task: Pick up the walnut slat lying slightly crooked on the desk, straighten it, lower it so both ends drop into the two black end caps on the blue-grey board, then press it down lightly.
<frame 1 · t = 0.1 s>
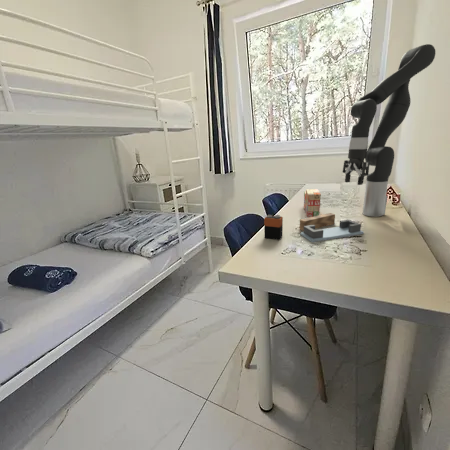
hand: (353, 183, 121), 17 cm above the table, tool pointing down, fingers open, 8 cm apart
cap board: (331, 234, 107), on the table
slat: (317, 227, 117), on the table
battery: (273, 237, 108), on the table
stack of blocks: (310, 211, 141), on the table
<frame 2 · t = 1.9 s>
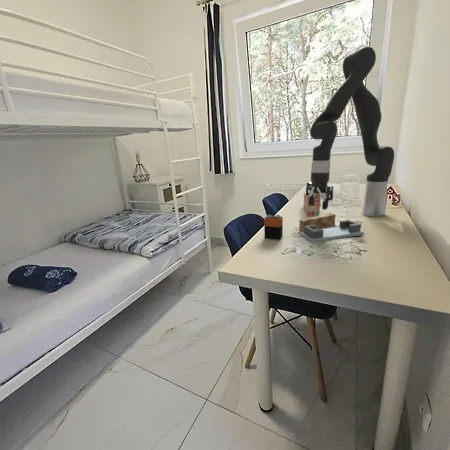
hand: (317, 207, 114), 9 cm above the table, tool pointing down, fingers open, 8 cm apart
nothing on the table moved.
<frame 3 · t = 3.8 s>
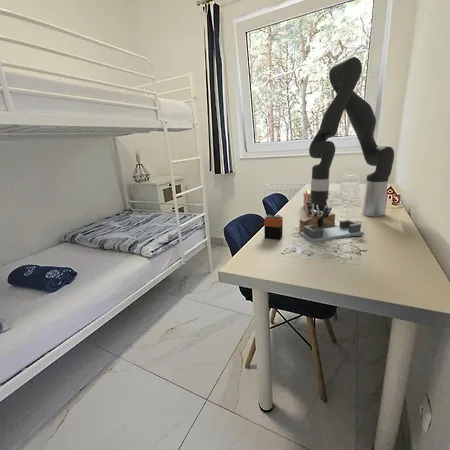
hand: (317, 225, 117), 1 cm above the table, tool pointing down, fingers closed on slat, 3 cm apart
slat: (317, 226, 117), on the table, touching gripper
everything else where it was.
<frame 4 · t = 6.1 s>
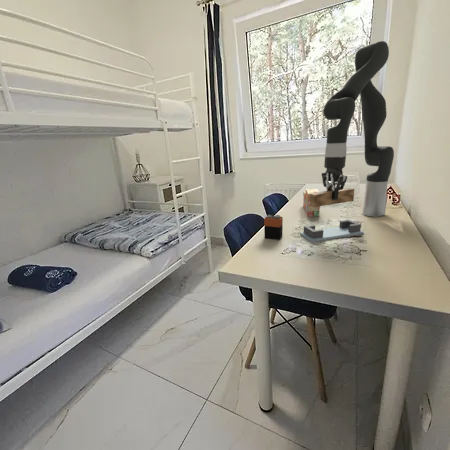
hand: (331, 198, 103), 15 cm above the table, tool pointing down, fingers closed on slat, 3 cm apart
slat: (331, 203, 104), point 13 cm above the table, touching gripper
when the fingers open (3 cm above the table, at t = 8.6 s): slat drops 1 cm, resting on cap board.
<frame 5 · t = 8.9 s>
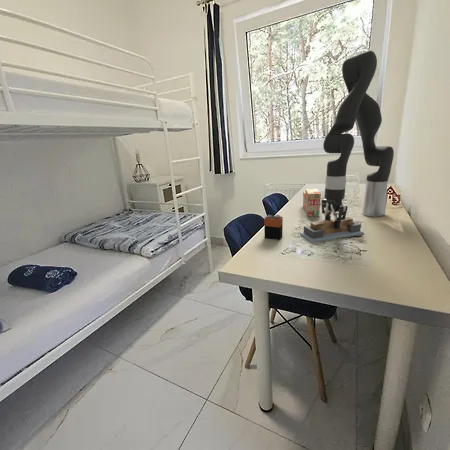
hand: (331, 226, 106), 4 cm above the table, tool pointing down, fingers open, 5 cm apart
slat: (331, 231, 107), point 1 cm above the table, touching cap board
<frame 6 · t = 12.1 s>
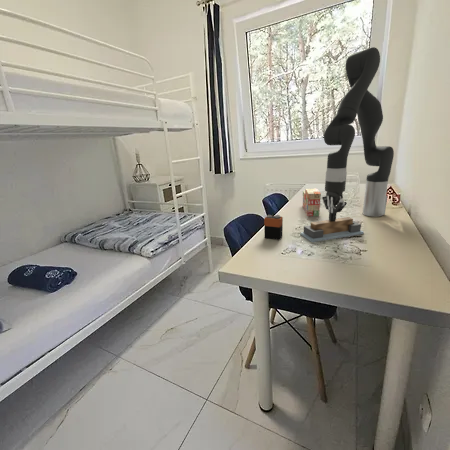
hand: (332, 220, 105), 6 cm above the table, tool pointing down, fingers closed
slat: (331, 231, 107), point 1 cm above the table, touching cap board, gripper
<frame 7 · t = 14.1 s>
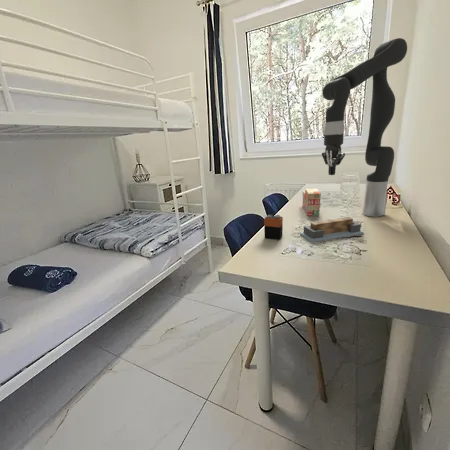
hand: (331, 174, 111), 23 cm above the table, tool pointing down, fingers closed
slat: (331, 231, 107), point 1 cm above the table, touching cap board
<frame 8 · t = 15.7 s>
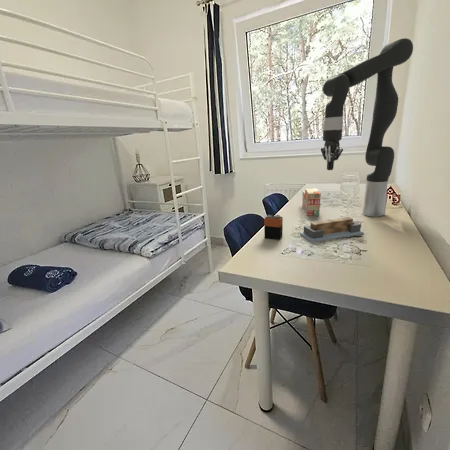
hand: (329, 169, 114), 25 cm above the table, tool pointing down, fingers closed
at the end: slat 0.2 cm off-centre on the cap board, point 1.0 cm above the cap board's base; slat tilted 0°; the gripper is holding nothing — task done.
